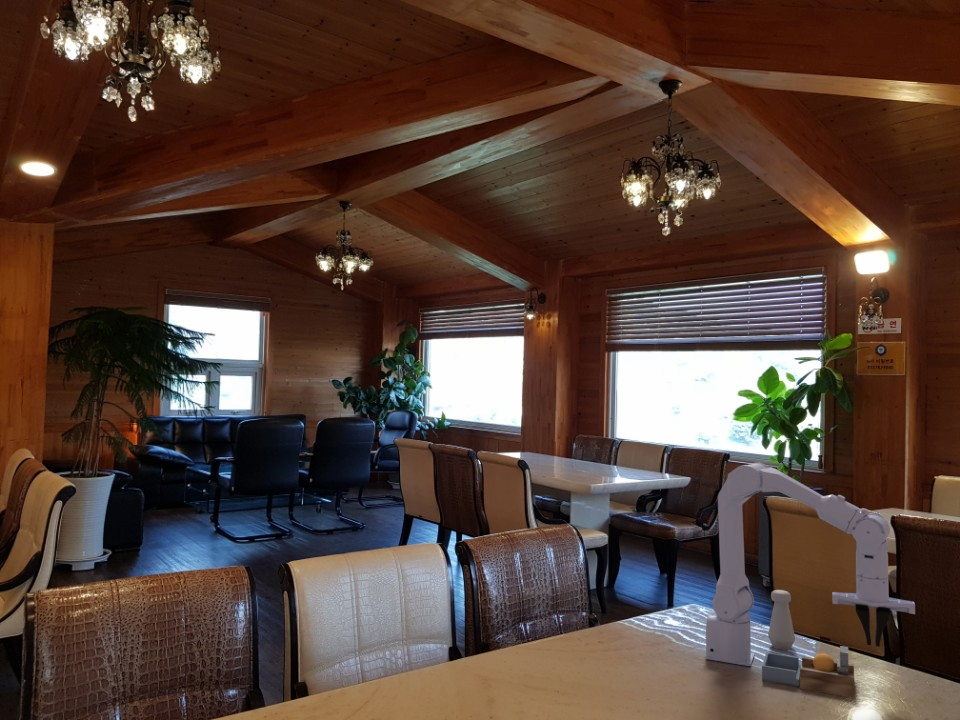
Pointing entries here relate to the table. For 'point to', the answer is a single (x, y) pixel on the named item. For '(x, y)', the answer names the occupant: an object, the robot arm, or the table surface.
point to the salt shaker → (781, 621)
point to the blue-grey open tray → (781, 669)
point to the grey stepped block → (843, 661)
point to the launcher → (826, 679)
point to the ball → (823, 663)
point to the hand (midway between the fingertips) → (873, 644)
